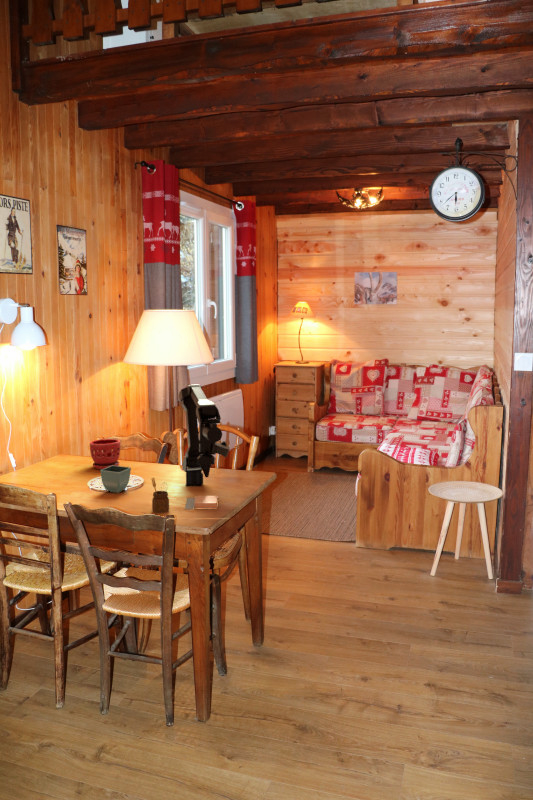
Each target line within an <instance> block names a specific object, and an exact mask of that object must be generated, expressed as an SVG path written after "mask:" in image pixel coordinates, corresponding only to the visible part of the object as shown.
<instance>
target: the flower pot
mask: <svg viewBox="0 0 533 800" xmlns="http://www.w3.org/2000/svg"><path fill="white" fill-rule="evenodd" d="M99 470H100V476H101V477H100V478H101V482H102V485H103V487H104V489H105V490H106V491H107V490H108V491H110V492H109V493H115V494H116V493H117V494H119V493H120V492H122V490H123V489H125V490H126V488H127V487H128V484H129V482H130V478H131V471H132V468H131V467H130V466H122V465H118V466H113V465H112V466H109V467H107V468H105V469H99ZM108 491H107V492H108ZM123 491H124V490H123Z"/></svg>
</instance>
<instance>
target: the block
mask: <svg viewBox="0 0 533 800" xmlns="http://www.w3.org/2000/svg"><path fill="white" fill-rule="evenodd" d="M194 498H195V508H217V498H218V495H195V497H194Z"/></svg>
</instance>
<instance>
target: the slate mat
mask: <svg viewBox="0 0 533 800" xmlns="http://www.w3.org/2000/svg"><path fill="white" fill-rule="evenodd" d="M195 498H196V497H186V500H185V501H186V503H185V506H184V510H185V511H186V510H190V509H193V508H194V509H195ZM190 511H191V510H190Z"/></svg>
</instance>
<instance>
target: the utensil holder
mask: <svg viewBox="0 0 533 800" xmlns="http://www.w3.org/2000/svg"><path fill="white" fill-rule="evenodd" d="M151 483H152V487H153V488H154V491H153V494H152V499H151V502H152V503H151V506H152V507H151V509H152V513H155V514H164V513H165V514H166V513H168V512H170V498H169V497H168V496H169V492H168V491H167V489H168V487H169V486H166V488H164V487H165V484H166V482H162V484H161V485H160V488H161V489H160V490H157V489H156V486H157V485H156V479H155V477H152V478H151ZM163 489H164V490H163Z"/></svg>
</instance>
